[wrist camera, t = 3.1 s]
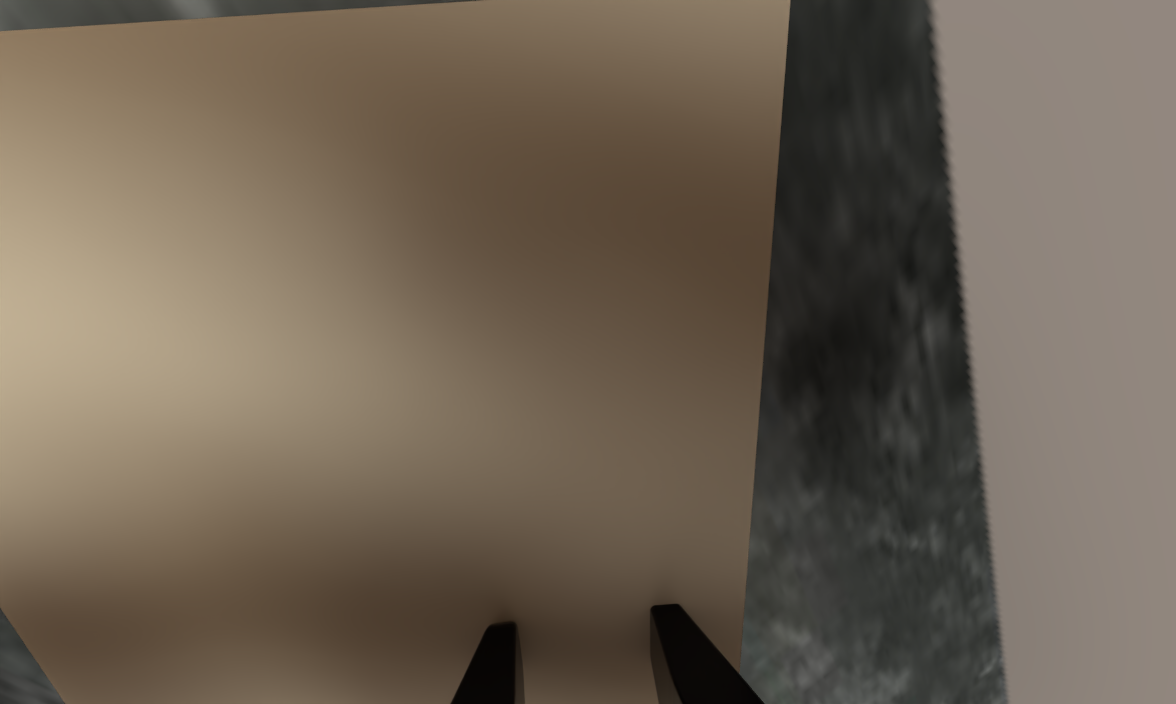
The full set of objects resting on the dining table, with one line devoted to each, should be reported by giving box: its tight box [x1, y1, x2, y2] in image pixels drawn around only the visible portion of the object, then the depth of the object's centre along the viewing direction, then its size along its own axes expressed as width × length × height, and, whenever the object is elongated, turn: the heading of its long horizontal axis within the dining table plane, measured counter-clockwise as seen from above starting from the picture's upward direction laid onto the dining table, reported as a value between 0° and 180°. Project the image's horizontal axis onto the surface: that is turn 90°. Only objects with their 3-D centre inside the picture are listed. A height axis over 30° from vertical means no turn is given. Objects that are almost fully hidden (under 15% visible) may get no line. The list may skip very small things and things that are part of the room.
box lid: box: [0, 0, 790, 704], centre depth 9 cm, size 16×10×1 cm, turn 3°
